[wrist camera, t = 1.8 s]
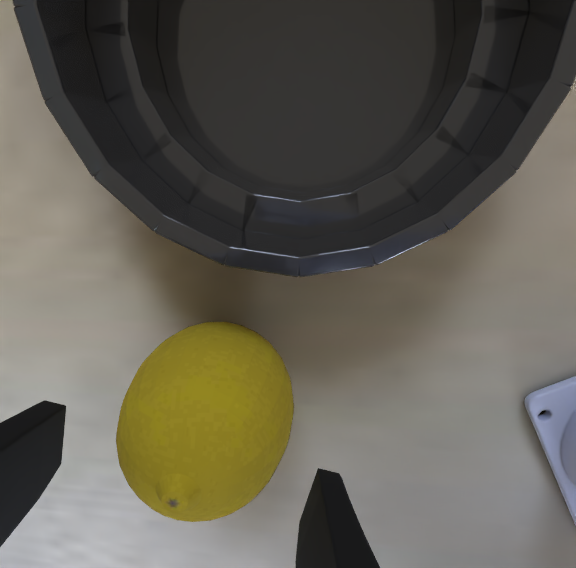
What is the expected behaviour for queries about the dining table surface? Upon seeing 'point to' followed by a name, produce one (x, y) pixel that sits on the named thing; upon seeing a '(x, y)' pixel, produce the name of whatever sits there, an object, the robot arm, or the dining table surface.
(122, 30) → the bowl
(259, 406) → the lemon
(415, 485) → the dining table surface
